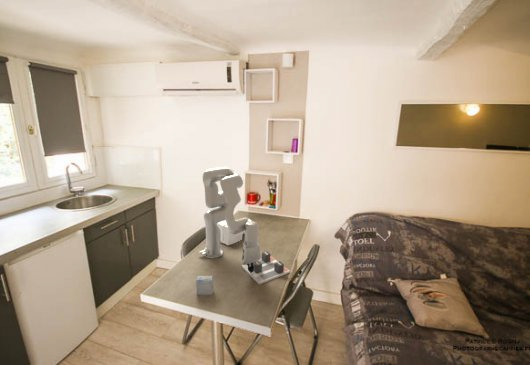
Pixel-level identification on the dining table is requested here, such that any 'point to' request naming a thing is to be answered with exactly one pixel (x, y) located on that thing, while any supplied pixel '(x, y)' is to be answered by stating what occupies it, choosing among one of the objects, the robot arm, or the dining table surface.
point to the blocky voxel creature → (228, 234)
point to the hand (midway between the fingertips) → (250, 271)
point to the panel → (267, 269)
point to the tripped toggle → (257, 267)
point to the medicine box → (204, 285)
